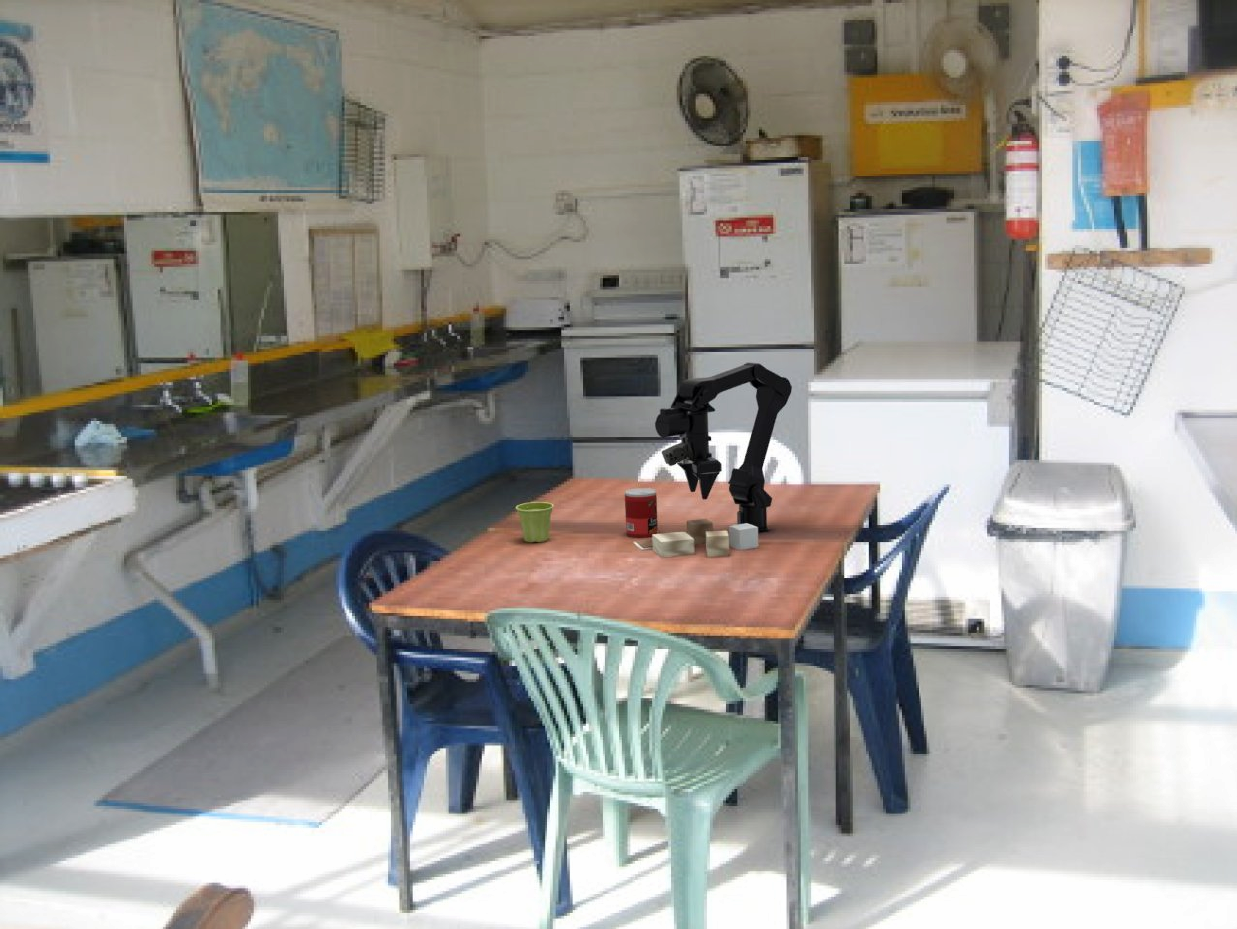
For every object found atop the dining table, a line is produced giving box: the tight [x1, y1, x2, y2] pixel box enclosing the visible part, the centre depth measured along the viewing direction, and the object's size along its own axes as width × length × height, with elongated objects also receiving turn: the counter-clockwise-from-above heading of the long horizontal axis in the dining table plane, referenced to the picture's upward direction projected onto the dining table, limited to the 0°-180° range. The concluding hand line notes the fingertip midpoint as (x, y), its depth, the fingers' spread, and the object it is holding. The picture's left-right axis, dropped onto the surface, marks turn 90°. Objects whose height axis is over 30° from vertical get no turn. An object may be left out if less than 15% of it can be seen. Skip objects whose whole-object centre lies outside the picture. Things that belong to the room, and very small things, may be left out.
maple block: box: [705, 530, 730, 558], centre depth 311 cm, size 5×5×5 cm
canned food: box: [624, 487, 659, 538], centre depth 332 cm, size 8×8×11 cm
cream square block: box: [651, 531, 695, 558], centre depth 314 cm, size 8×8×4 cm
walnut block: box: [686, 518, 714, 546], centre depth 323 cm, size 5×5×5 cm
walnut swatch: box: [633, 539, 653, 551], centre depth 321 cm, size 7×7×1 cm
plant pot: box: [515, 501, 555, 543], centre depth 331 cm, size 9×9×9 cm
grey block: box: [728, 523, 759, 551], centre depth 316 cm, size 5×5×5 cm
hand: (698, 495), depth 321 cm, fingers open, 9 cm apart
